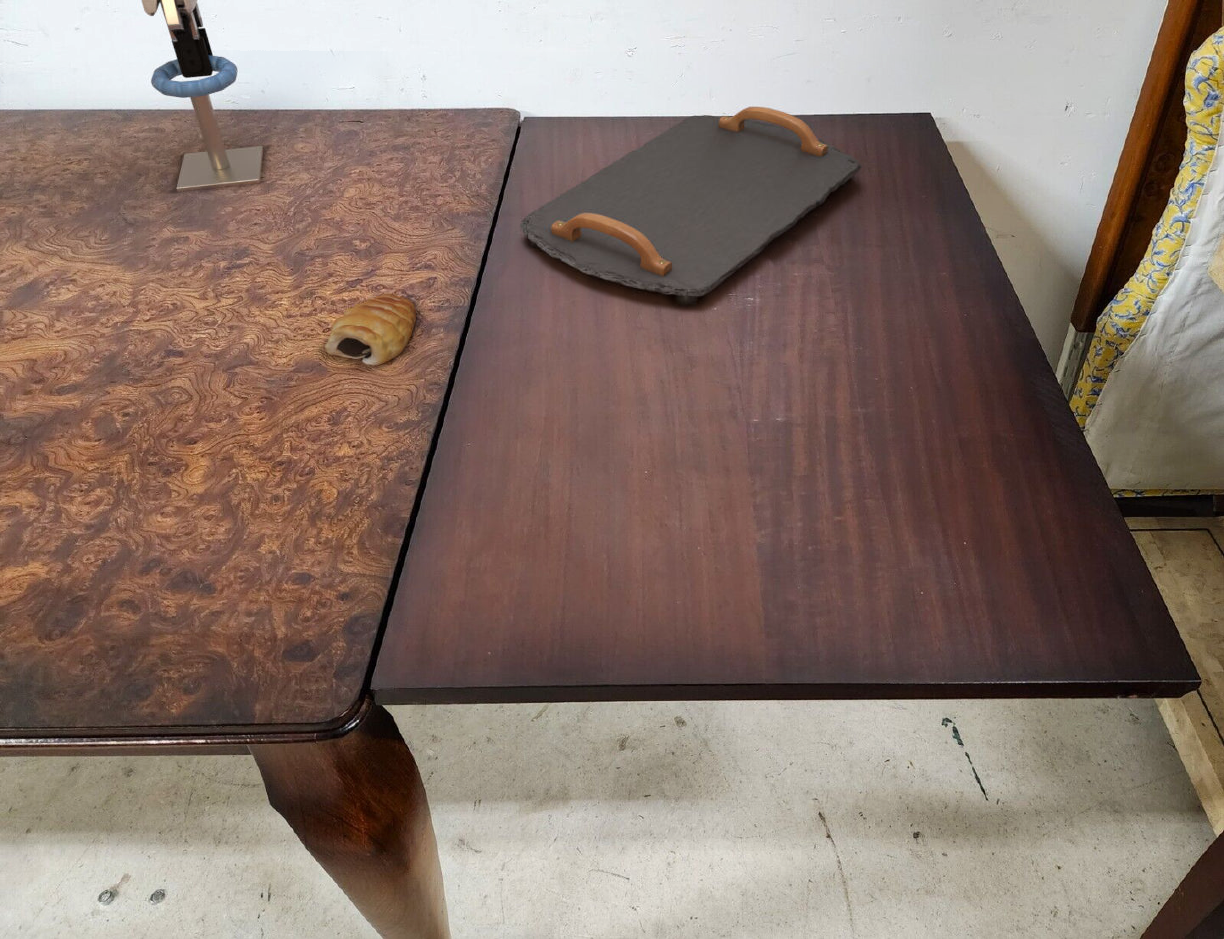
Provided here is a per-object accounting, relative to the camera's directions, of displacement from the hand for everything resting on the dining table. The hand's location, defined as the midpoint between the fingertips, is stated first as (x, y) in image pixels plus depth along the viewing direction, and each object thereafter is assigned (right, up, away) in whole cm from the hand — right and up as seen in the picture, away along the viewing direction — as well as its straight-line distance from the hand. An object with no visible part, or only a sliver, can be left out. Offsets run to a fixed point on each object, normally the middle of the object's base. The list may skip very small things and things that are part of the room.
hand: (199, 69), depth 109 cm
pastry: (+25, -33, -20) cm, 46 cm away
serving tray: (+55, -17, -3) cm, 58 cm away
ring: (+1, -2, -3) cm, 3 cm away
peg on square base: (+1, -10, +5) cm, 11 cm away
